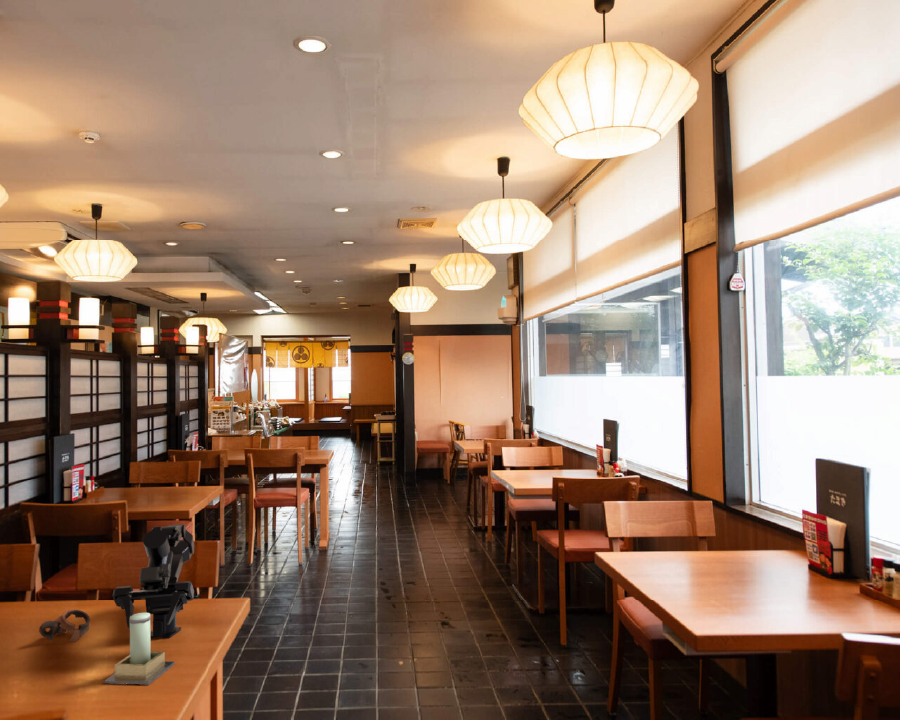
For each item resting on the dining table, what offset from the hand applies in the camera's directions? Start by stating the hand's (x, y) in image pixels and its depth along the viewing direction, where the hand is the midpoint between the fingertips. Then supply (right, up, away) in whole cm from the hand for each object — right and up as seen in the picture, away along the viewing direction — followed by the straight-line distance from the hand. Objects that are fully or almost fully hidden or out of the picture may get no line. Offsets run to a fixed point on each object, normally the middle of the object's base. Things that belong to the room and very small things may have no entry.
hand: (148, 625), depth 159 cm
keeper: (+2, -8, -8) cm, 11 cm away
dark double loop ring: (-30, -10, +15) cm, 35 cm away
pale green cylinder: (+2, -8, -7) cm, 11 cm away
